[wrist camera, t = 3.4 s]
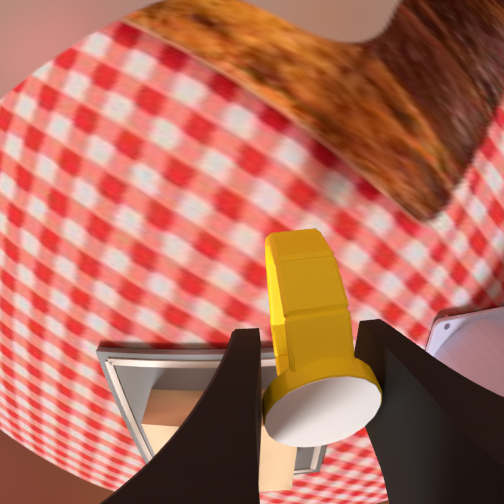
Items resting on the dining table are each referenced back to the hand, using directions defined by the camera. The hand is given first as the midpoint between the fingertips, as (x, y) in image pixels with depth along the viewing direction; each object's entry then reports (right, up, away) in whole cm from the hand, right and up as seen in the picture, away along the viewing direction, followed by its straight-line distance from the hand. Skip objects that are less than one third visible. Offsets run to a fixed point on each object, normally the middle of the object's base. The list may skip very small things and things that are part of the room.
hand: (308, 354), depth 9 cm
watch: (0, +2, +3) cm, 4 cm away
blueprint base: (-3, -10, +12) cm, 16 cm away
